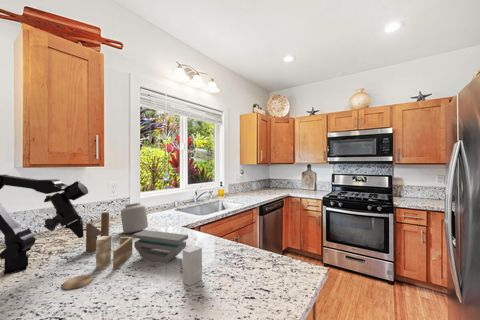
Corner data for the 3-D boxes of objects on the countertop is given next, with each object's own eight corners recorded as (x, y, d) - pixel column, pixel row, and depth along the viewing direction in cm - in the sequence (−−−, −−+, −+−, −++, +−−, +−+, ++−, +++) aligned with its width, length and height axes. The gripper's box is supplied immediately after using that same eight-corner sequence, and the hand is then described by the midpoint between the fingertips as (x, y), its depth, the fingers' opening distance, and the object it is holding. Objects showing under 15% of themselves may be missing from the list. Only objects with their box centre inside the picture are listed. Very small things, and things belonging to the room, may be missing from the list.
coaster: (63, 292, 74) (63, 290, 74) (60, 282, 80) (60, 280, 80) (95, 282, 80) (95, 281, 80) (90, 274, 87) (90, 272, 87)
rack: (100, 270, 90) (100, 250, 90) (120, 253, 107) (120, 237, 107) (115, 270, 90) (116, 250, 90) (133, 253, 107) (133, 236, 108)
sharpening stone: (187, 258, 102) (188, 235, 102) (178, 266, 94) (178, 240, 94) (144, 251, 110) (144, 229, 110) (132, 258, 102) (132, 234, 102)
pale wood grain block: (95, 269, 91) (96, 239, 91) (102, 263, 96) (102, 236, 96) (104, 268, 91) (104, 239, 92) (110, 263, 96) (111, 235, 97)
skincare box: (195, 276, 85) (195, 245, 86) (202, 279, 83) (202, 247, 83) (181, 282, 81) (182, 249, 81) (189, 286, 78) (189, 252, 78)
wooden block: (85, 251, 110) (86, 215, 110) (105, 244, 120) (106, 211, 120) (90, 252, 108) (91, 216, 109) (110, 245, 118) (111, 211, 119)
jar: (112, 233, 140) (113, 193, 141) (132, 227, 153) (133, 191, 154) (134, 237, 132) (134, 195, 133) (152, 230, 146) (153, 192, 146)
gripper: (45, 217, 97) (62, 247, 97) (34, 215, 82) (55, 251, 82) (73, 204, 103) (90, 232, 104) (69, 199, 88) (88, 233, 89)
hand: (81, 237), depth 94 cm, fingers open, 9 cm apart
